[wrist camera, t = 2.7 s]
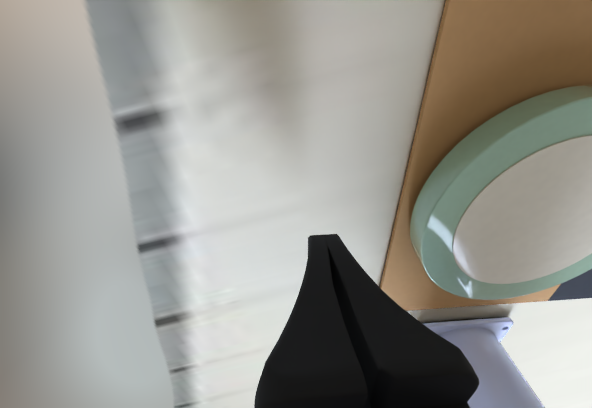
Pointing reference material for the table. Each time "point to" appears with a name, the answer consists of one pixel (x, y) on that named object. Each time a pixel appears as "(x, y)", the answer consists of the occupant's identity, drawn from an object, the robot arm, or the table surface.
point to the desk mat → (485, 113)
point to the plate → (512, 201)
